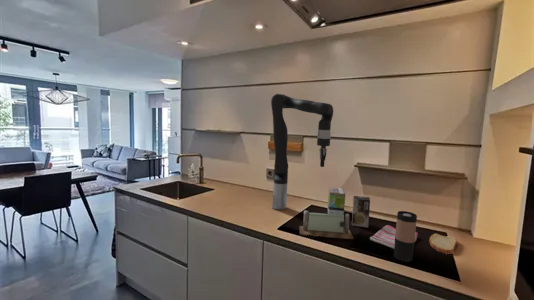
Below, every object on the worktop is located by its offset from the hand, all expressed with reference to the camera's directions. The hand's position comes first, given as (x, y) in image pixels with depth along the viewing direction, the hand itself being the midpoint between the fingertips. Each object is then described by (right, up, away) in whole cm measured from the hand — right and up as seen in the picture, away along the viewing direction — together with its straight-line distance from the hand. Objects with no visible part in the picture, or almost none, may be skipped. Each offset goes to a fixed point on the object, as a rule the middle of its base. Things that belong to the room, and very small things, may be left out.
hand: (322, 166), depth 156 cm
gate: (-2, -33, -18) cm, 37 cm away
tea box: (+12, -31, +17) cm, 38 cm away
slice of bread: (+55, -38, -26) cm, 72 cm away
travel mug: (+27, -38, -41) cm, 62 cm away
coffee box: (+21, -34, -4) cm, 40 cm away
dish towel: (+32, -37, -22) cm, 53 cm away
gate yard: (-2, -34, -18) cm, 38 cm away
